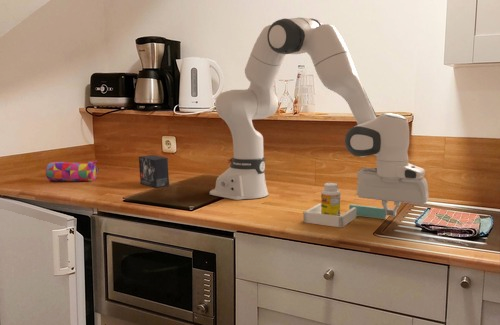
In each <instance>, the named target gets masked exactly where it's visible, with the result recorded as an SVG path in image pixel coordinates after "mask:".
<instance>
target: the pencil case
mask: <svg viewBox="0 0 500 325" xmlns="http://www.w3.org/2000/svg"><path fill="white" fill-rule="evenodd" d="M97 162H98V161H97V160H95V161H90V160H89V161H87V162H68V161H52V162H48V164H47V165H46V169H45V176H46V178H47V180H48V181H49V182H55V181H56V182H94V181H95V180H96V178H97V173H99V170H100V168H97V166H96V163H97Z"/></svg>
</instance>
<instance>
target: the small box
mask: <svg viewBox="0 0 500 325" xmlns="http://www.w3.org/2000/svg"><path fill="white" fill-rule="evenodd" d="M138 165H139V166H138V167H139V180H140V181H139V182H140V184H141V185H143V186H147V187H151V188H153V189H157V188H164V187H170V179H169V159H168V157H164V156H159V155H156V154H155V155H154V154H148V155H142V156H138Z"/></svg>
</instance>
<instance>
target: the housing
mask: <svg viewBox="0 0 500 325" xmlns="http://www.w3.org/2000/svg"><path fill="white" fill-rule="evenodd" d="M356 209H357V208H354V207H353V208H352V209H350V210H348V211H345V212H344V213H342V214H341V213H340V216H336V215H328V214H321V203H317V204H316V205H314V206H312V207H310V208H308V209H307V210H305V211H303V216H302V217H303V220H302V222H303V223H307V224H315V225H322V226H329V227H333V228H335V227H336V228H341V229H342V228H344V227H346V226H347V225H348V224H349V223H351V222H352V221H353V220H355V219H356V218H357V215H356Z"/></svg>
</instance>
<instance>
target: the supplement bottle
mask: <svg viewBox="0 0 500 325" xmlns="http://www.w3.org/2000/svg"><path fill="white" fill-rule="evenodd" d="M338 187H339V185H338V183H336V182H325V183H324V184H323V190H321V196H320V197H321V214H328V215H336V216H340V214H341V191H340V190H339V188H338Z"/></svg>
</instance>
